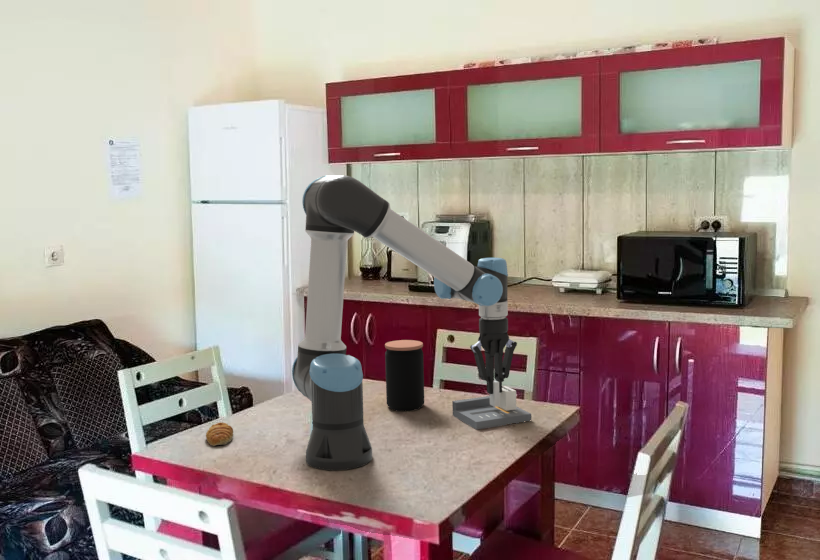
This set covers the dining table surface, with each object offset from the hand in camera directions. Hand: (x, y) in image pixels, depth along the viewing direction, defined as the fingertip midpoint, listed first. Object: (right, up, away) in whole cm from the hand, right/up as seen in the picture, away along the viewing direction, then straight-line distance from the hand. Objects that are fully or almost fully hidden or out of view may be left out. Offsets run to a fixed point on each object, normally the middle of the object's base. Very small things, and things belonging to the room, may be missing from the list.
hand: (494, 405), depth 216 cm
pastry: (-70, -7, -12) cm, 71 cm away
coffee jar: (-24, -3, +13) cm, 27 cm away
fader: (+3, -1, +1) cm, 4 cm away
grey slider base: (-1, -3, 0) cm, 4 cm away
